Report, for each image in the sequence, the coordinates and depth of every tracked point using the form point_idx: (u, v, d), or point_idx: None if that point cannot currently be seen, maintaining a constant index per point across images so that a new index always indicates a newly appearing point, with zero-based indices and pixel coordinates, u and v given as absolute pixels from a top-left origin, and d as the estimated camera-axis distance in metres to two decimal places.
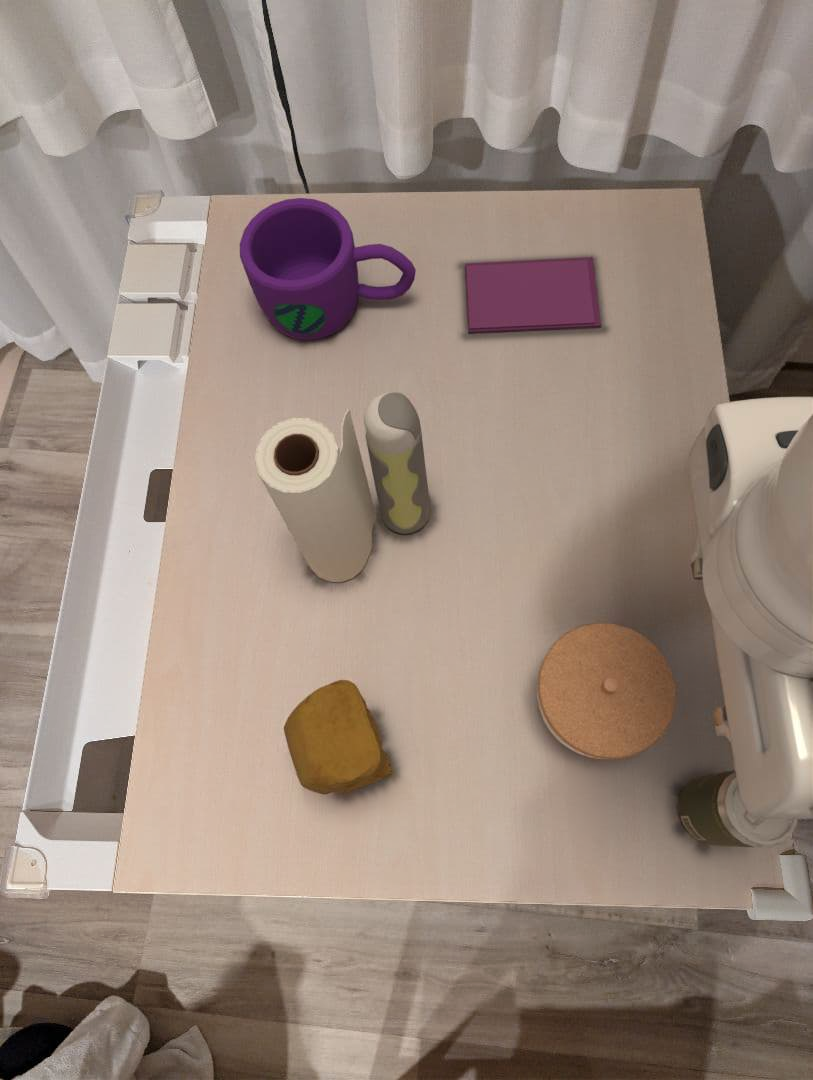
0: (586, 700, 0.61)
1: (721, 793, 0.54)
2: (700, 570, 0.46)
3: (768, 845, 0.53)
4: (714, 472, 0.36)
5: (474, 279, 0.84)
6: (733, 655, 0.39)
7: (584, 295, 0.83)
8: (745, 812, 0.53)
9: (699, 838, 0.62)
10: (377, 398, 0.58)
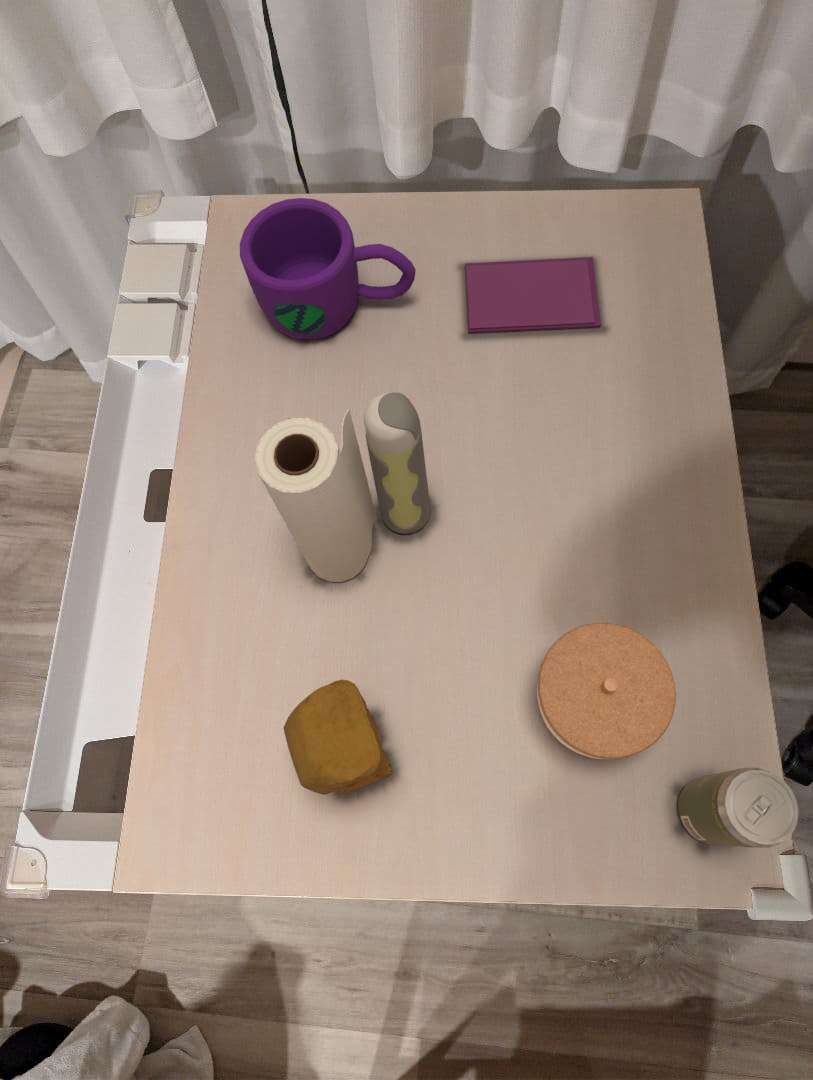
0: (586, 700, 0.61)
1: (721, 793, 0.54)
2: None
3: (768, 845, 0.53)
4: None
5: (474, 279, 0.84)
6: None
7: (584, 295, 0.83)
8: (745, 812, 0.53)
9: (699, 838, 0.62)
10: (377, 398, 0.58)
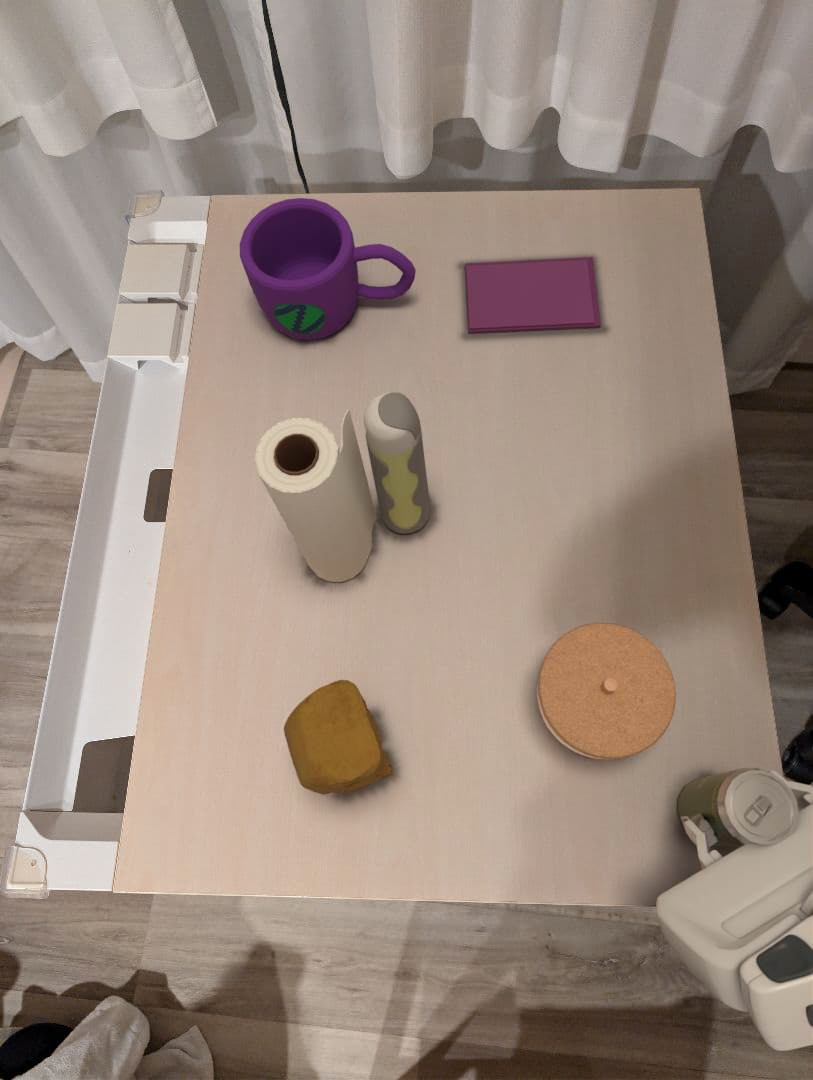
0: (586, 700, 0.61)
1: (721, 793, 0.54)
2: (716, 841, 0.57)
3: None
4: None
5: (474, 279, 0.84)
6: None
7: (584, 295, 0.83)
8: (745, 812, 0.53)
9: None
10: (377, 398, 0.58)
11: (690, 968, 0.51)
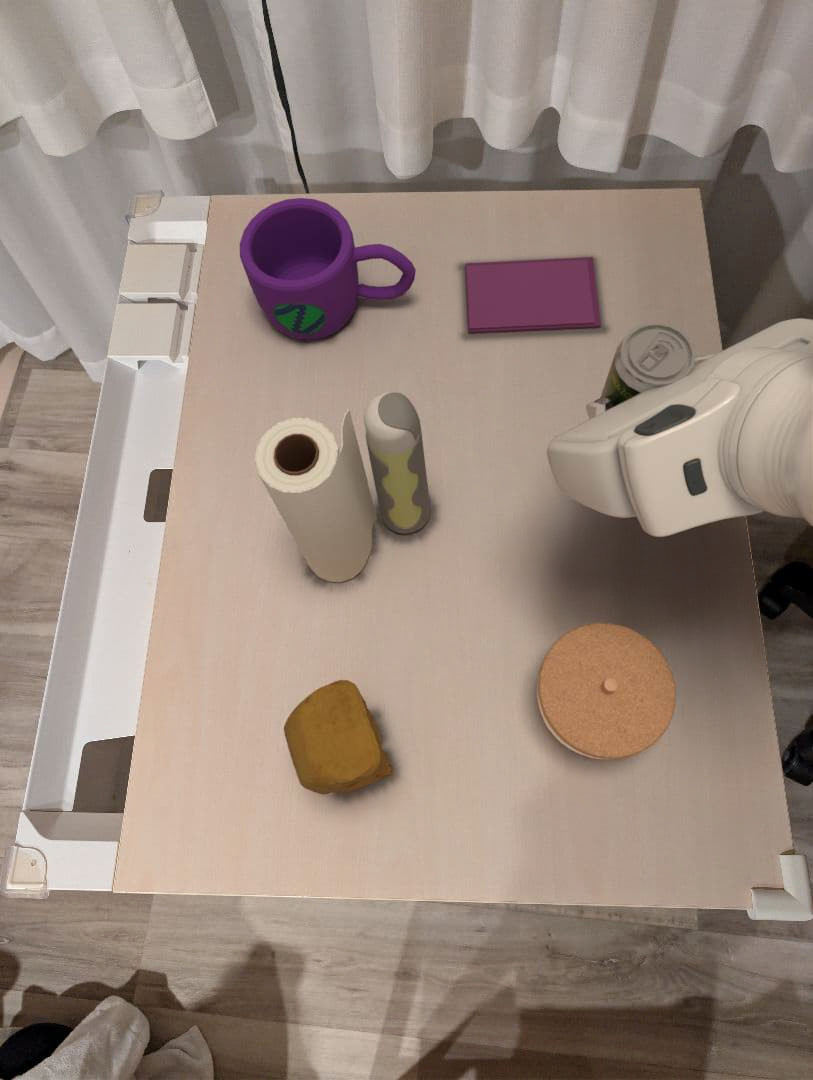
0: (586, 700, 0.61)
1: (618, 349, 0.53)
2: None
3: None
4: None
5: (474, 279, 0.84)
6: None
7: (584, 295, 0.83)
8: (641, 359, 0.52)
9: None
10: (377, 398, 0.58)
11: (579, 497, 0.49)
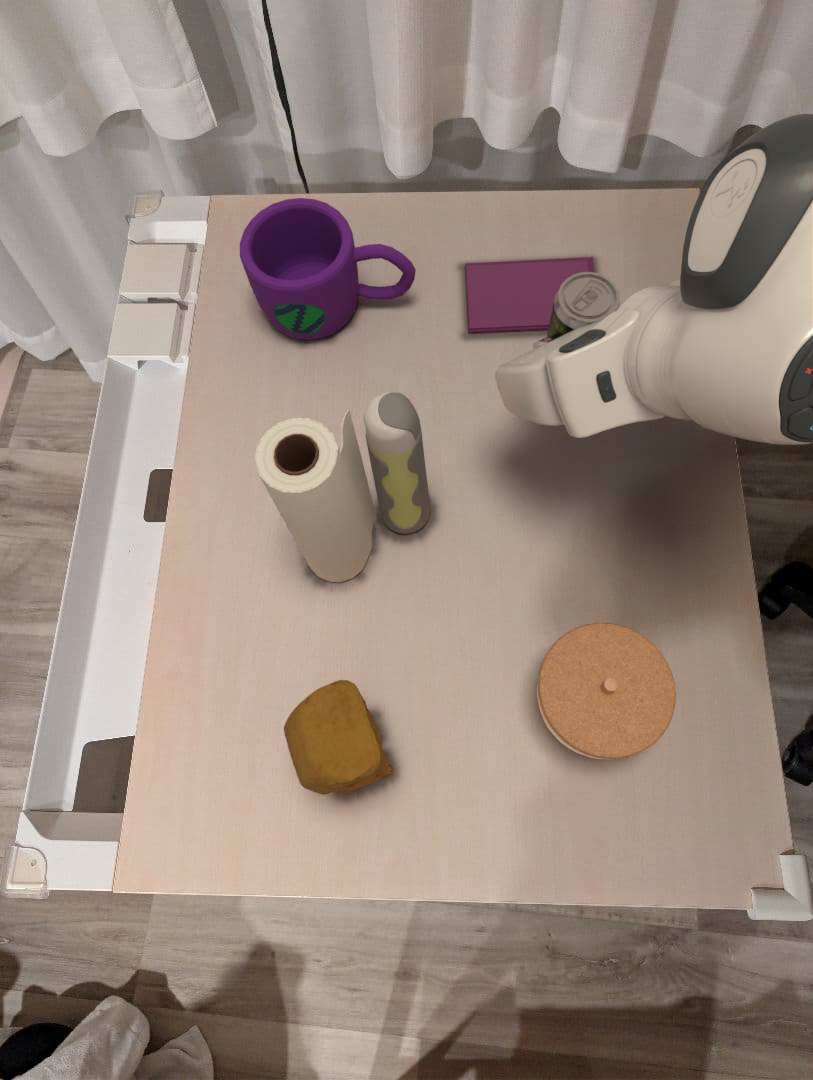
0: (586, 700, 0.61)
1: (557, 294, 0.64)
2: None
3: None
4: None
5: (474, 279, 0.84)
6: None
7: None
8: (574, 301, 0.62)
9: None
10: (377, 398, 0.58)
11: (520, 412, 0.60)
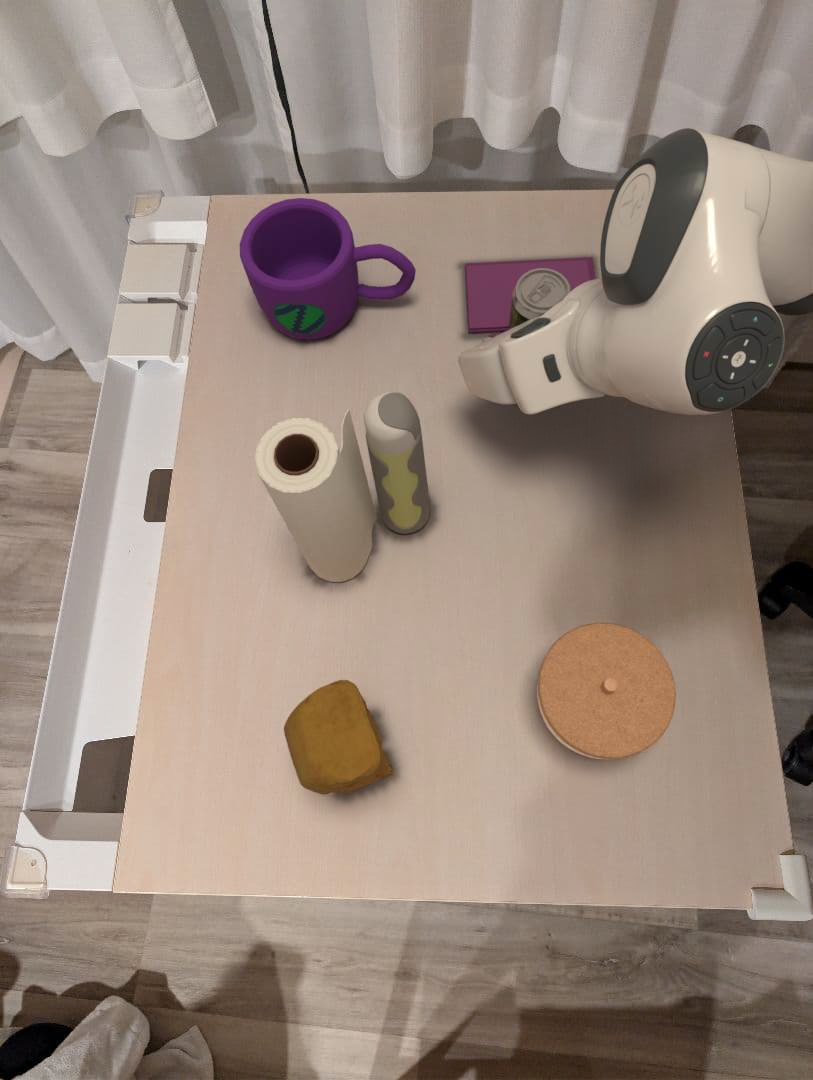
0: (586, 700, 0.61)
1: (515, 288, 0.71)
2: None
3: None
4: None
5: (474, 279, 0.84)
6: None
7: None
8: (530, 294, 0.70)
9: None
10: (377, 398, 0.58)
11: (480, 393, 0.67)
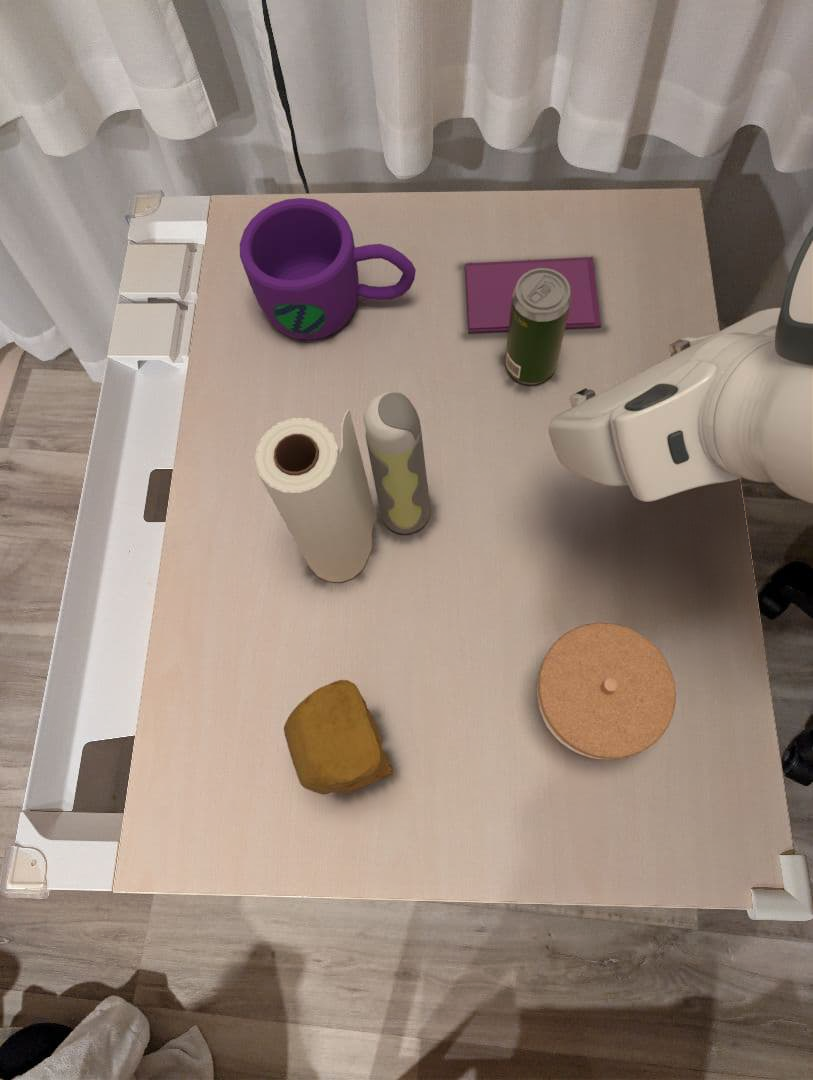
0: (586, 700, 0.61)
1: (515, 288, 0.71)
2: None
3: (547, 317, 0.69)
4: None
5: (474, 279, 0.84)
6: None
7: (584, 295, 0.83)
8: (530, 294, 0.70)
9: (517, 373, 0.78)
10: (377, 398, 0.58)
11: (577, 469, 0.55)
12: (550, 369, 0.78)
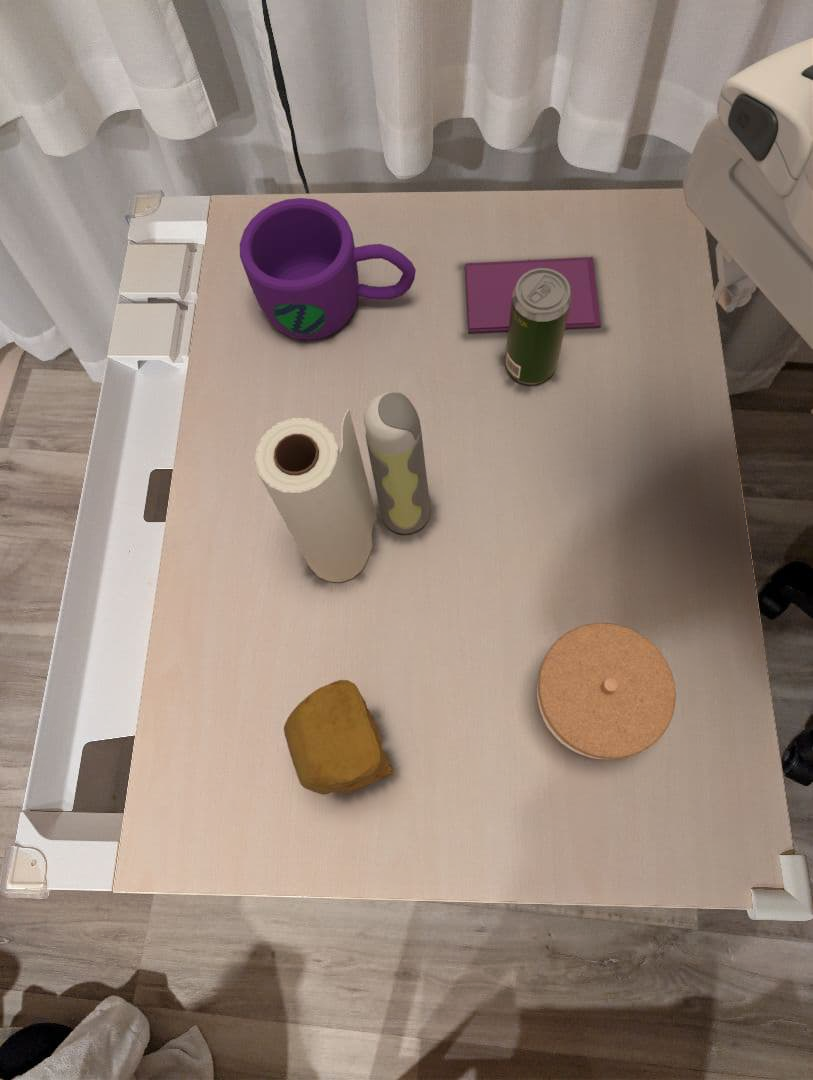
0: (586, 700, 0.61)
1: (515, 288, 0.71)
2: (733, 296, 0.46)
3: (547, 317, 0.69)
4: (755, 143, 0.36)
5: (474, 279, 0.84)
6: None
7: (584, 295, 0.83)
8: (530, 294, 0.70)
9: (517, 373, 0.78)
10: (377, 398, 0.58)
11: None
12: (550, 369, 0.78)
